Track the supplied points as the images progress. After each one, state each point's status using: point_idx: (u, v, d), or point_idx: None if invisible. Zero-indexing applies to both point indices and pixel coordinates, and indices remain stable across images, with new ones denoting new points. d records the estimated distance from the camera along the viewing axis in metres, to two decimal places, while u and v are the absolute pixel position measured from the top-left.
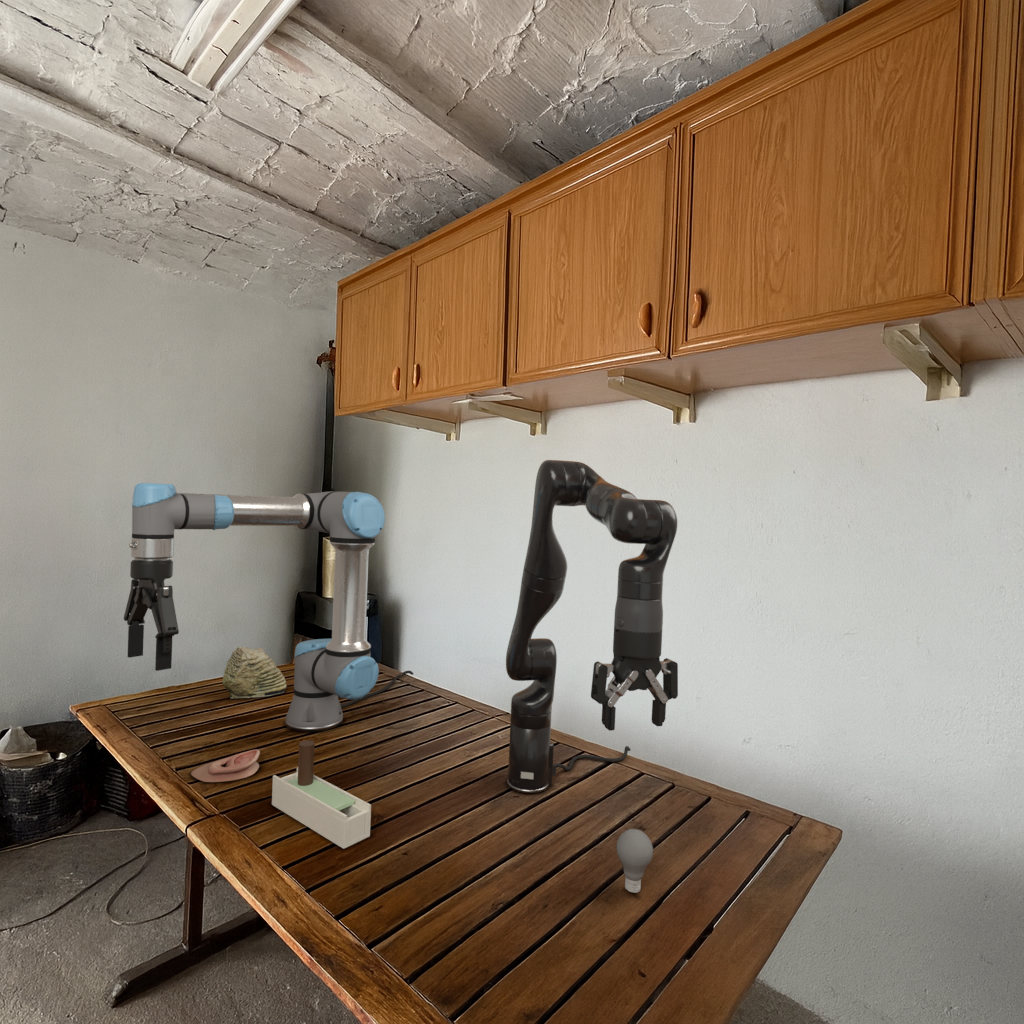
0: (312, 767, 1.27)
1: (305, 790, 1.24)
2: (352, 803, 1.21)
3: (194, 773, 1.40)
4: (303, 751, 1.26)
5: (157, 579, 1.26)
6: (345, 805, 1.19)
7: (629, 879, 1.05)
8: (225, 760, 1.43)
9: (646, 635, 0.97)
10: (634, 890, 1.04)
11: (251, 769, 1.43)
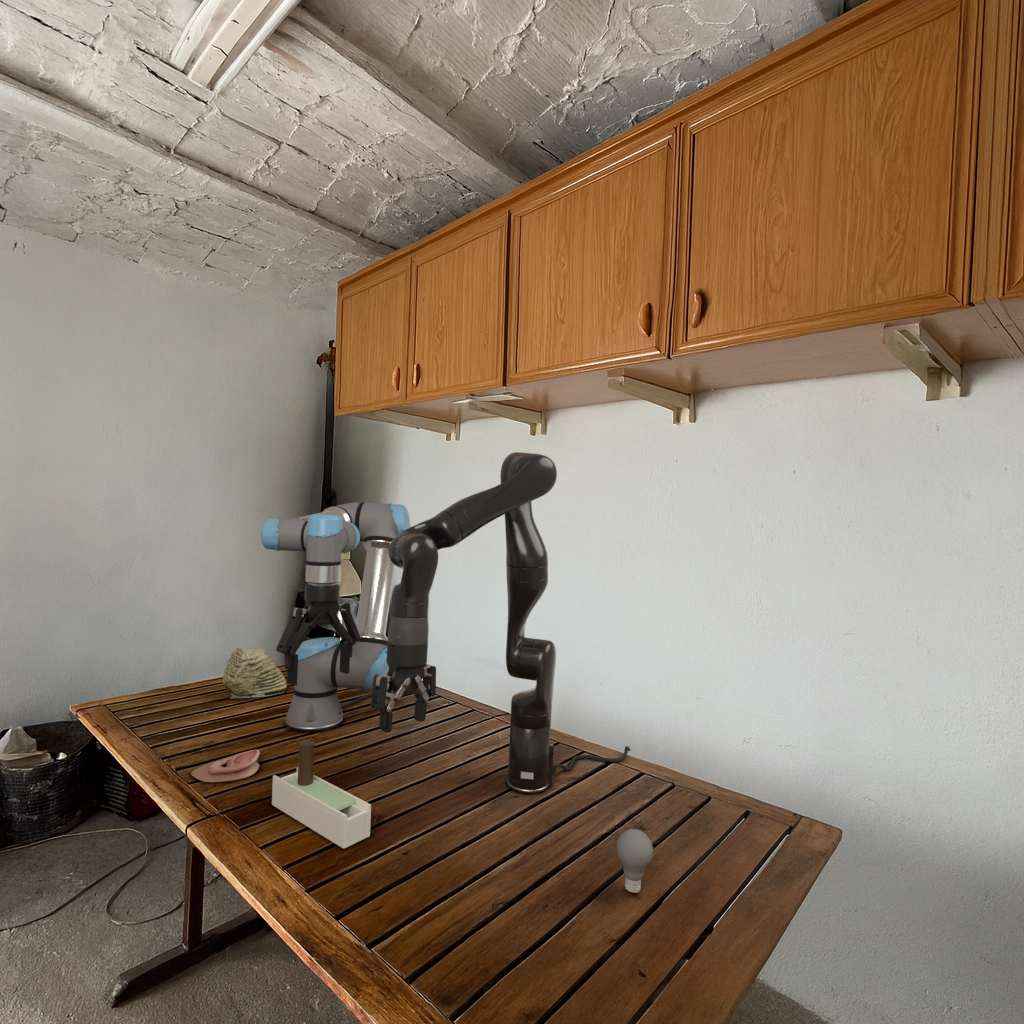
0: (312, 767, 1.27)
1: (305, 790, 1.24)
2: (352, 803, 1.21)
3: (194, 773, 1.40)
4: (303, 751, 1.26)
5: (306, 602, 1.39)
6: (345, 805, 1.19)
7: (629, 879, 1.05)
8: (225, 760, 1.43)
9: (419, 647, 1.16)
10: (634, 890, 1.04)
11: (251, 769, 1.43)
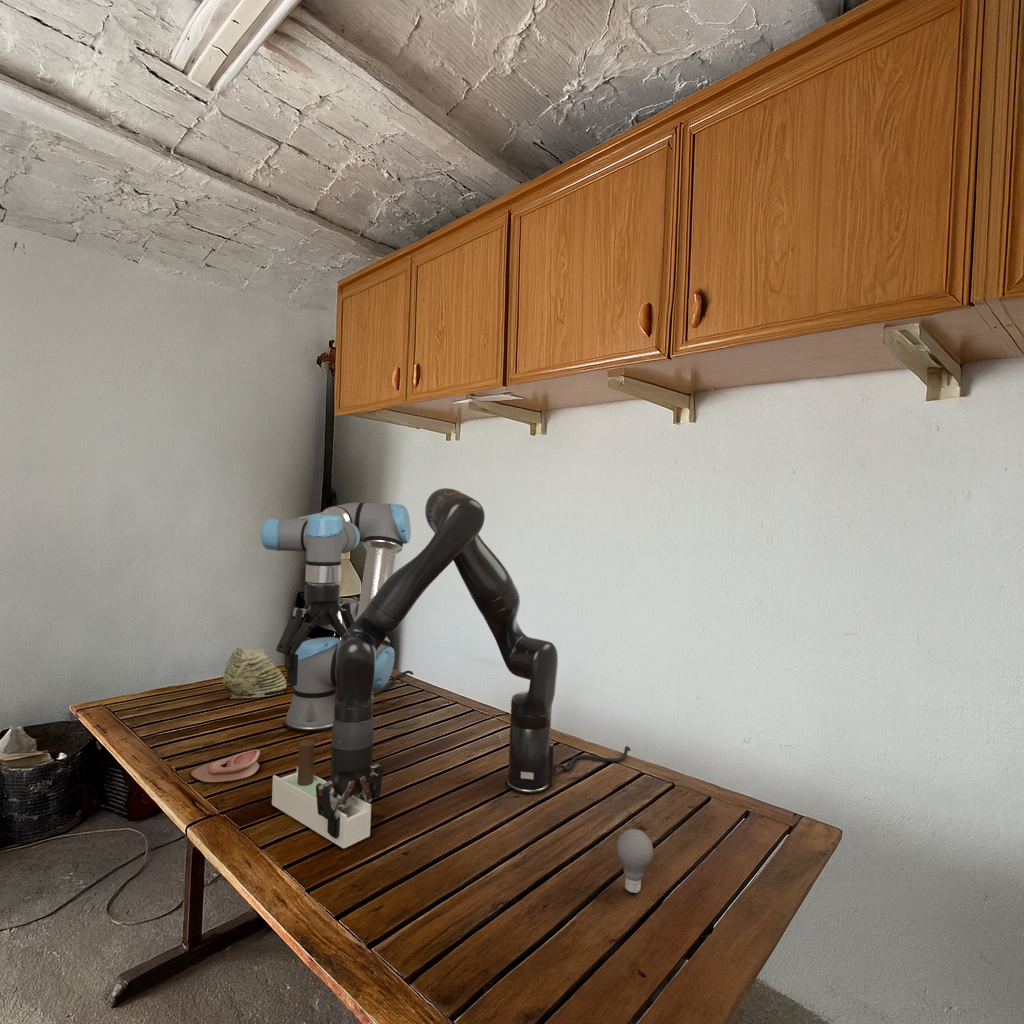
0: (312, 767, 1.27)
1: (305, 790, 1.24)
2: (352, 803, 1.21)
3: (194, 773, 1.40)
4: (303, 751, 1.26)
5: (306, 602, 1.39)
6: (345, 805, 1.19)
7: (629, 879, 1.05)
8: (225, 760, 1.43)
9: (362, 751, 1.15)
10: (634, 890, 1.04)
11: (251, 769, 1.43)
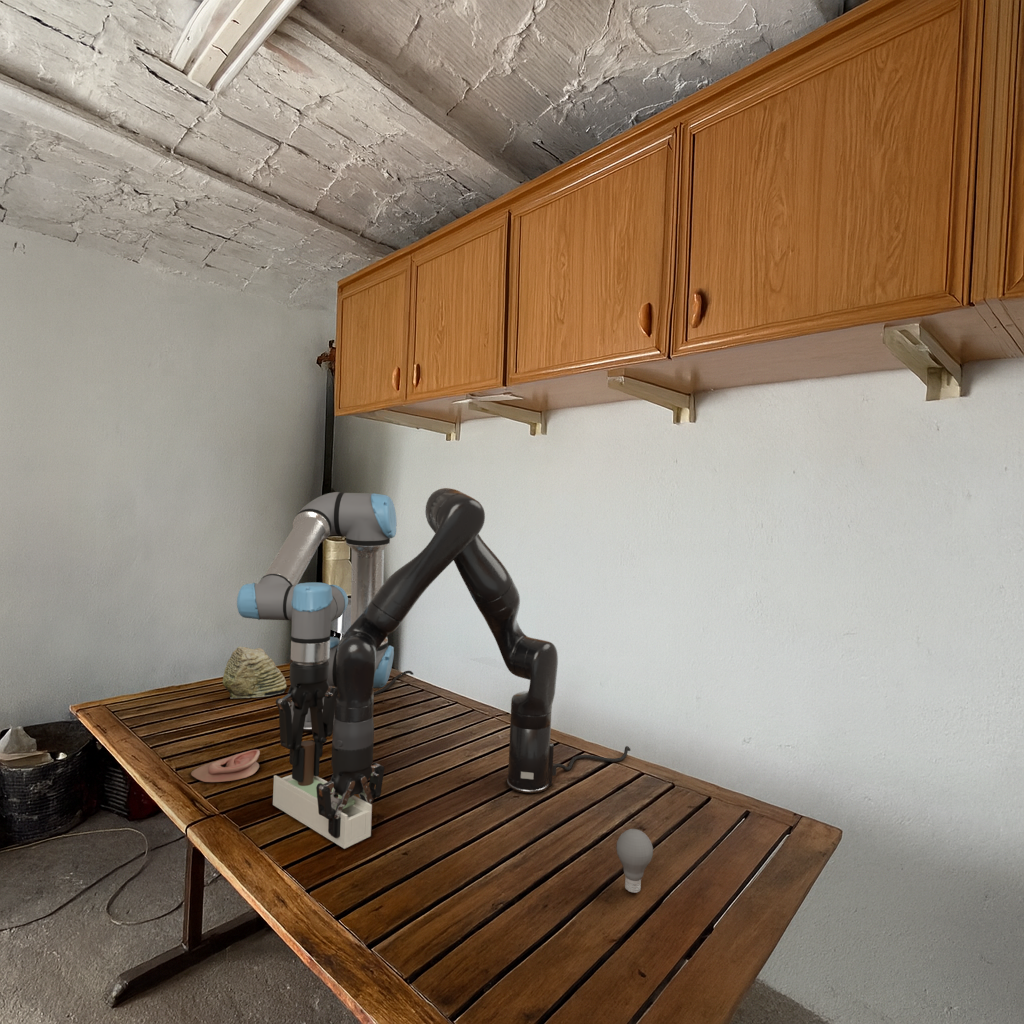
0: (312, 767, 1.27)
1: (305, 790, 1.24)
2: (352, 803, 1.21)
3: (194, 773, 1.40)
4: (304, 751, 1.26)
5: (291, 683, 1.24)
6: None
7: (629, 879, 1.05)
8: (225, 760, 1.43)
9: (362, 751, 1.15)
10: (634, 890, 1.04)
11: (251, 769, 1.43)
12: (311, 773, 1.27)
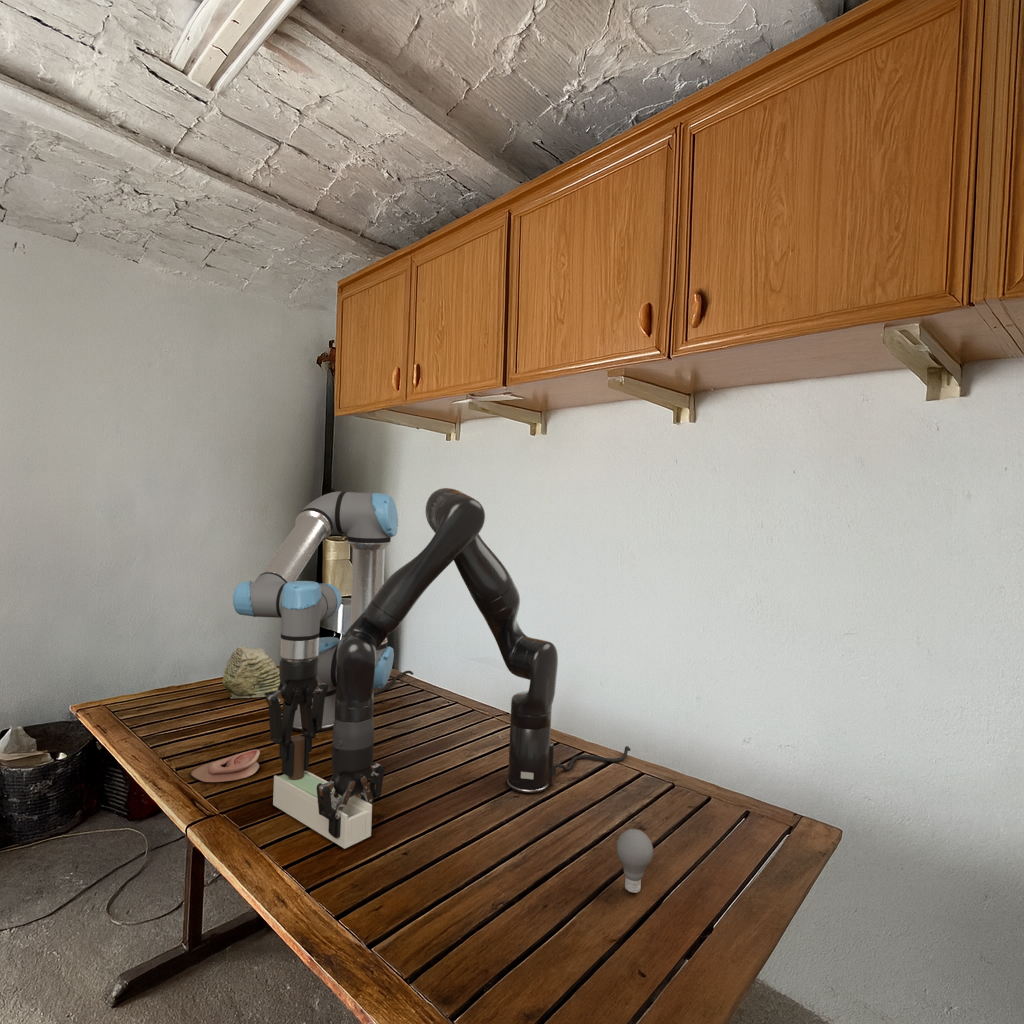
0: (303, 761, 1.29)
1: (296, 784, 1.26)
2: None
3: (194, 773, 1.40)
4: (294, 746, 1.28)
5: (281, 679, 1.27)
6: None
7: (629, 879, 1.05)
8: (225, 760, 1.43)
9: (362, 751, 1.15)
10: (634, 890, 1.04)
11: (251, 769, 1.43)
12: (301, 767, 1.29)
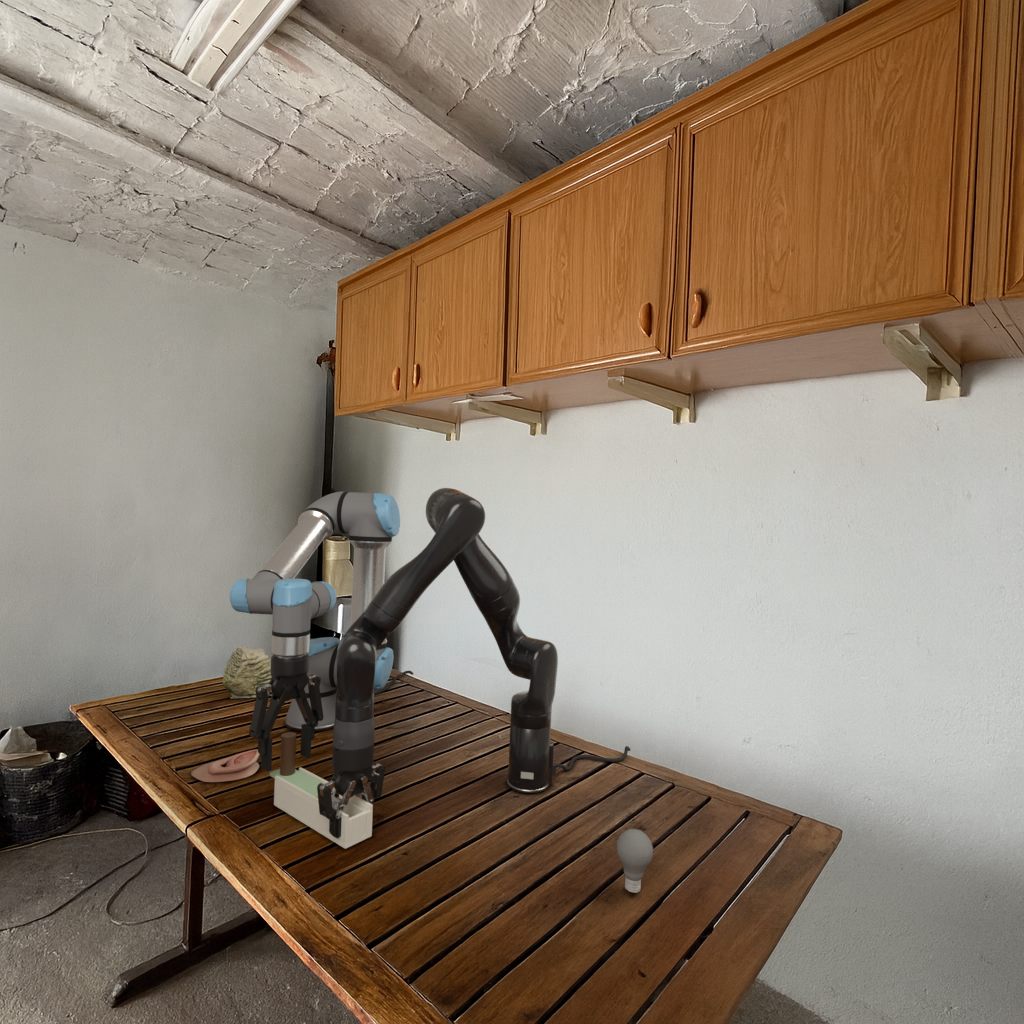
0: (294, 758, 1.31)
1: (287, 780, 1.28)
2: None
3: (194, 773, 1.40)
4: (285, 742, 1.30)
5: (272, 675, 1.29)
6: None
7: (629, 879, 1.05)
8: (225, 760, 1.43)
9: (363, 750, 1.15)
10: (634, 890, 1.04)
11: (251, 769, 1.43)
12: (292, 763, 1.31)
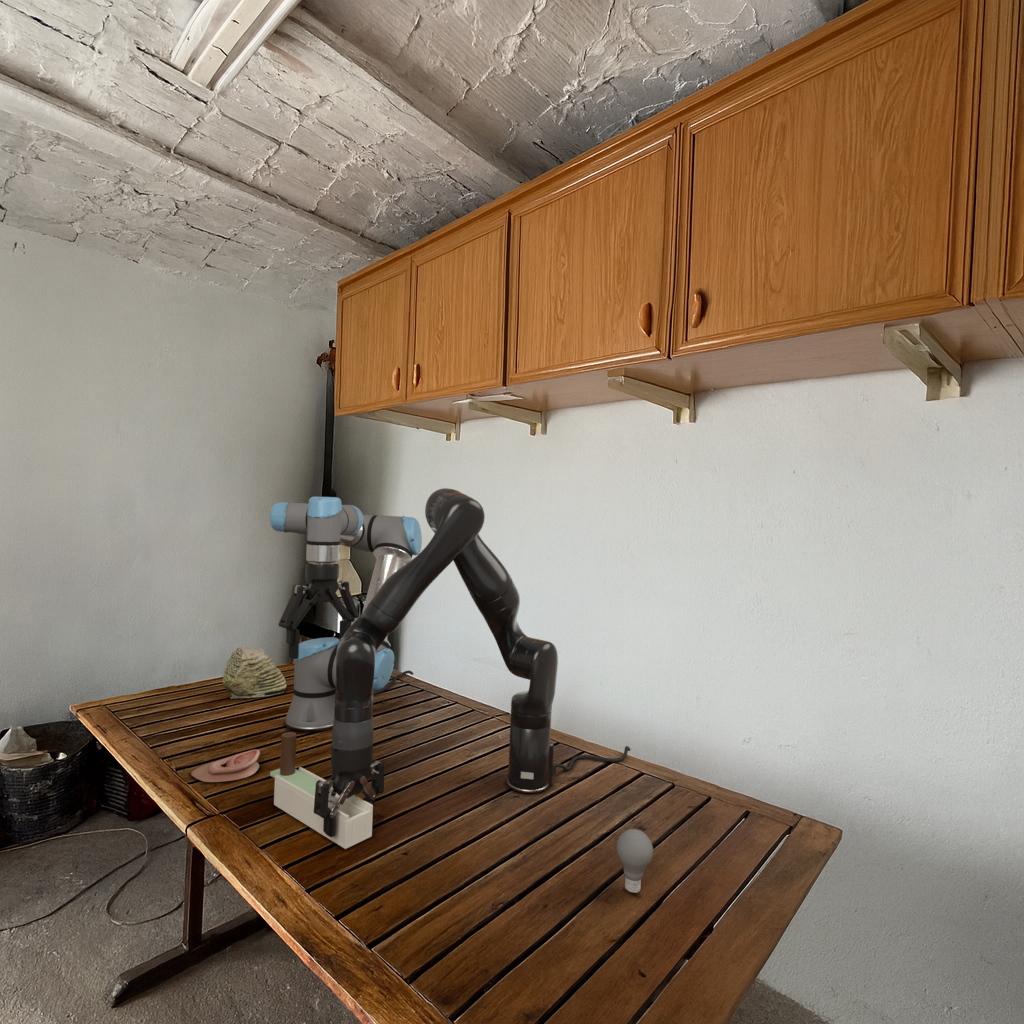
0: (294, 757, 1.31)
1: (287, 780, 1.28)
2: None
3: (194, 773, 1.40)
4: (285, 742, 1.30)
5: (307, 580, 1.45)
6: None
7: (629, 879, 1.05)
8: (225, 760, 1.43)
9: (362, 751, 1.15)
10: (634, 890, 1.04)
11: (251, 769, 1.43)
12: (293, 763, 1.31)
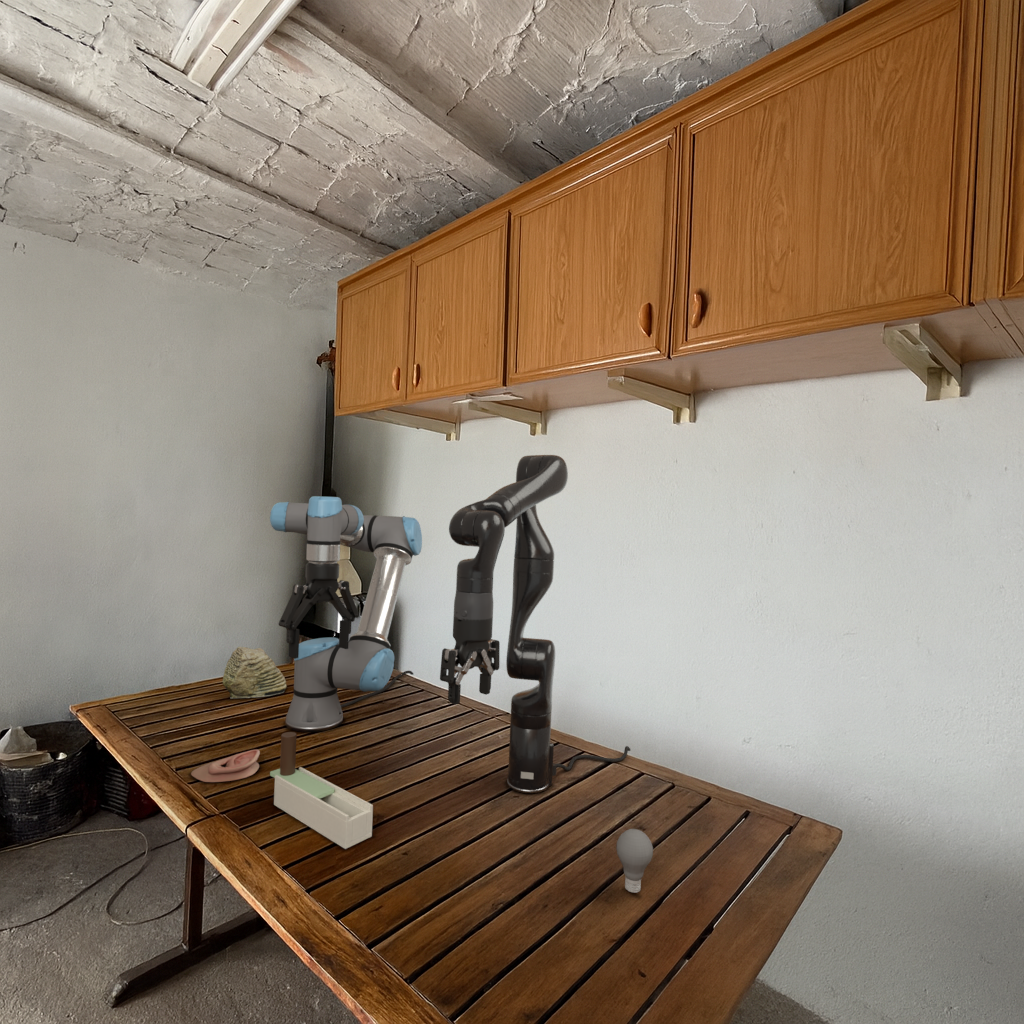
0: (294, 758, 1.31)
1: (287, 780, 1.28)
2: (332, 792, 1.25)
3: (194, 773, 1.40)
4: (285, 742, 1.30)
5: (307, 579, 1.46)
6: (325, 793, 1.24)
7: (629, 879, 1.05)
8: (225, 760, 1.43)
9: (485, 621, 1.18)
10: (634, 890, 1.04)
11: (251, 769, 1.43)
12: (293, 763, 1.31)
